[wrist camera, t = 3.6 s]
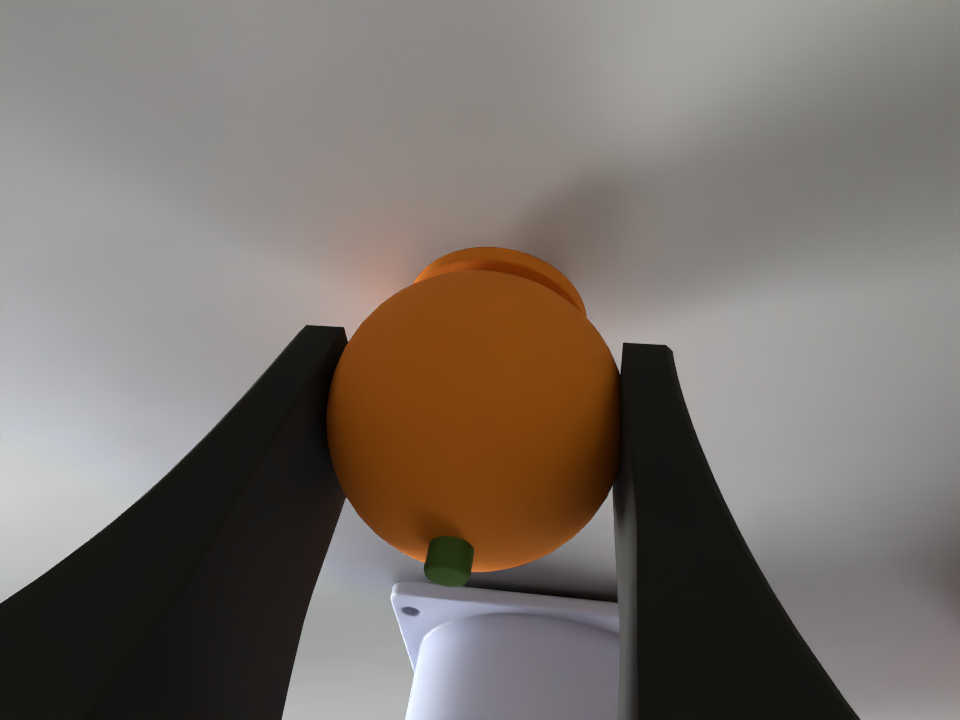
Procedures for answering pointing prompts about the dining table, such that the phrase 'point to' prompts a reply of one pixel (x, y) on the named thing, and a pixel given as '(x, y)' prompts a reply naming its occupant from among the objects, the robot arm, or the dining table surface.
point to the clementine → (476, 415)
